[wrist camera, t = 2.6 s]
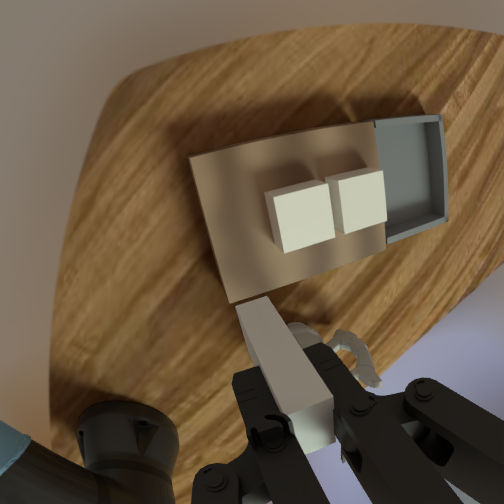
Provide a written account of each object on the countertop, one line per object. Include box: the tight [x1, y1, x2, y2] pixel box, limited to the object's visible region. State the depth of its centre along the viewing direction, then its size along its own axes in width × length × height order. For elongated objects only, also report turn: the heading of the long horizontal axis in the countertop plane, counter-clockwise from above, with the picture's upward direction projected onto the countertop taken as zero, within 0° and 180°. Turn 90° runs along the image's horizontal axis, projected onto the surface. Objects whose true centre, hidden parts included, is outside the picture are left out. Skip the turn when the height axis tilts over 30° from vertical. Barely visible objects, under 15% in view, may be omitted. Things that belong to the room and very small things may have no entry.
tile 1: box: [325, 167, 387, 234], centre depth 29 cm, size 5×5×2 cm
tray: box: [359, 114, 448, 244], centre depth 34 cm, size 11×14×3 cm
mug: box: [287, 322, 382, 388], centre depth 34 cm, size 8×12×12 cm, turn 104°
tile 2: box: [264, 180, 335, 254], centre depth 28 cm, size 5×5×2 cm
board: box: [187, 121, 386, 304], centre depth 31 cm, size 18×14×4 cm
